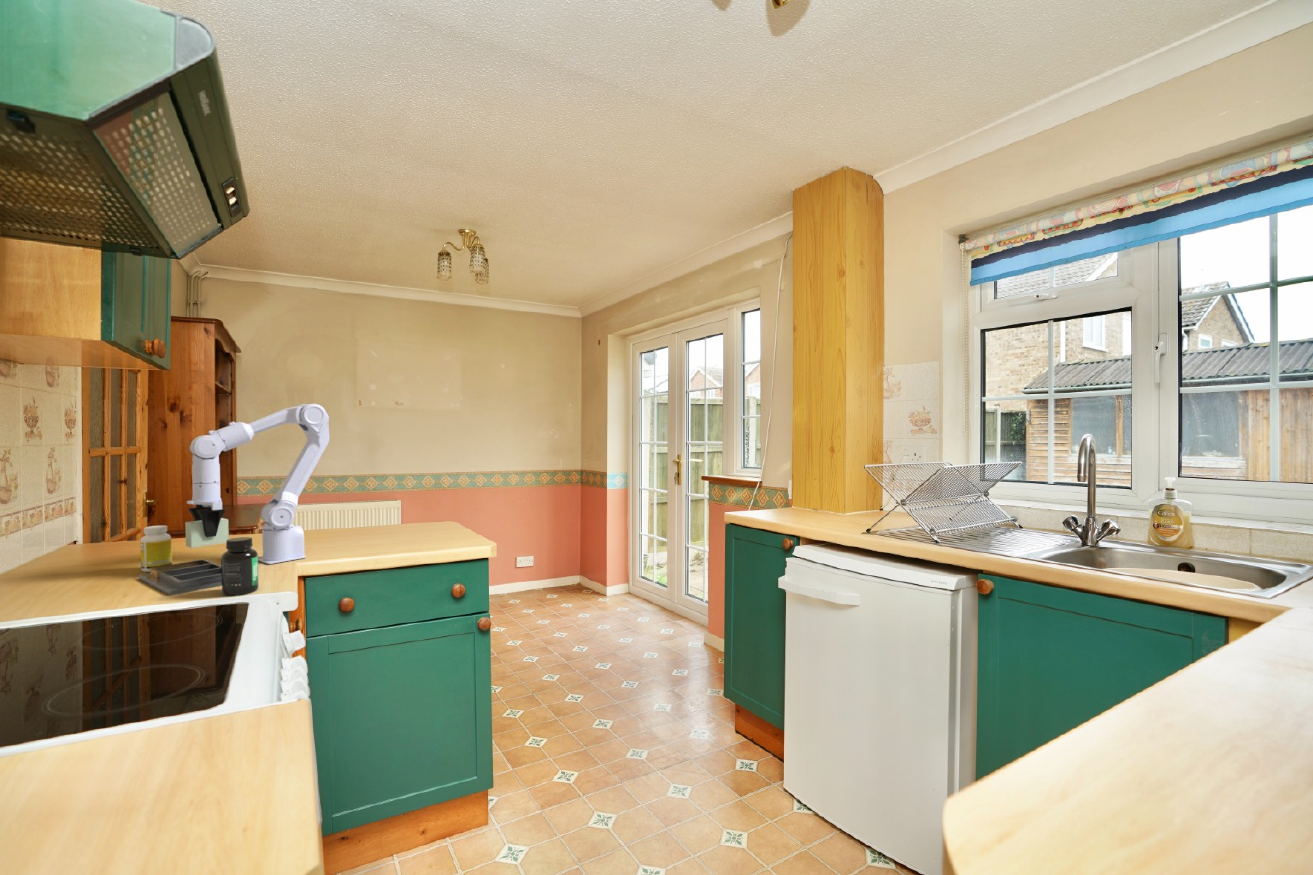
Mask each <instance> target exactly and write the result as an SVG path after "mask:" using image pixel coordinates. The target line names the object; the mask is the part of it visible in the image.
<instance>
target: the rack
mask: <svg viewBox="0 0 1313 875" xmlns="http://www.w3.org/2000/svg"><path fill="white" fill-rule="evenodd" d="M138 579H139V580H140V581H142V582H144V583H146V584H148V585H149V586H151V587H153V588H155V589H157V590H159V591H161V592H162V593H163V594H166V595H167V596H174V595H179V594H181V595H182V594H185V592H186V593H190V591H191V592H196V591H200V590H199V589H201V590H206V589H211V588H212V589H213V588H215V587H222V573H221V564H217V563H216V562H213V561H211V560H208V559H196V560H190V561H186V562H185V561H183V562H178V563H172V564H171V565H165V566H158V567H152V568H150V572H148V573H143V574H138ZM195 590H196V591H195Z"/></svg>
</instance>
